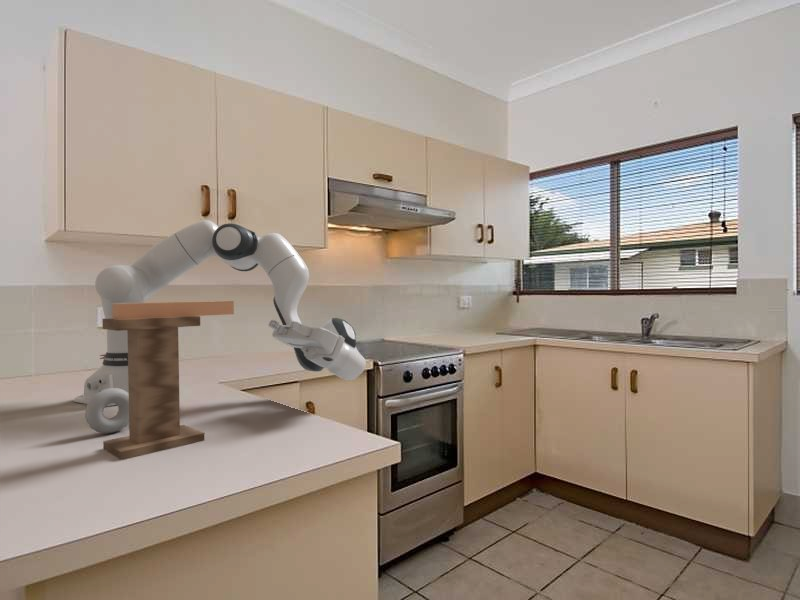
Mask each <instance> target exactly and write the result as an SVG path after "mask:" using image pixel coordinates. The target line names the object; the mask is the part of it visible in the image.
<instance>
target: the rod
mask: <svg viewBox="0 0 800 600" xmlns="http://www.w3.org/2000/svg"><path fill="white" fill-rule="evenodd" d="M234 304H235V303H234V300H215V301H214V300H213V301H210V300H207V301H205V300H204V301H173V302H172V301H166V302H165V301H164V302H163V301H162V302H144V303H113V304H112V319H137V318H160V317H183V316H200V317H201V316H220V315H222V316H225V315H235V313H234V312H235V305H234Z"/></svg>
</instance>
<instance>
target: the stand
mask: <svg viewBox="0 0 800 600" xmlns="http://www.w3.org/2000/svg"><path fill="white" fill-rule="evenodd" d="M101 321H102V330H106V331H107V330H115V331H121V330H127V335H128V387H129V423H128V428H129V429H128V430H129V433H128V434H129V435H126V436H123V437H117V438H112V439H108V440H103V441H102V442H103V443H102V444H103V447H102V449H103V450H104V451H106V452H108V453H110V454H112V456H114V457H116V458H117V459H119V460H120V461H123V460H126V459H130V458H135V457H139V456H143V455H149V454H152V453H153V454H154V453H157V452H160V451H164V450H169V449H174V448H178V447H181V446H187V445H190V444H194V443H199V442H203V441H205V432H202V431H200V430H198V429H196V428H193V427H190V426H188V425H185V424H181V421H180V420H181V417H180V416H181V413H180V412H181V411H180V364H179V363H180V362H179V361H180V360H179V354H180V353H179V349H180V348H179V328H183V327H184V328H187V327H201V316H183V317H160V318H137V319H112V318H108V319H105V318H102V320H101Z"/></svg>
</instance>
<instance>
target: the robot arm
mask: <svg viewBox="0 0 800 600" xmlns="http://www.w3.org/2000/svg"><path fill="white" fill-rule="evenodd" d="M213 257H218V258H220V259H221V260H222V262H224V263H226V264H227V265H228V266H230V267H231V268H232V269H234V270H235V271H236V270H237V271H240V272H251V271H253V270H255V269H256V268H257V267H258V266H261V268H262V269H263V271H264V272H265V273H266V275H267V276H268V278H269V279H270V281H271V284H272V287H273V291H274V296H273V299H272V300H273V306H274V308H275V310H276V313H277V315H278V317H279V319H280V322H281V323H282V324H280V322H278V321H276V320H275V319H270V321H269V323H268V324H267V325H268V327H269V328H271V329H272V330H273V332H272V334H271V335H272V336H271V337H273V339H276V340H278V341H279V342H281V343H283V344H285V345H287V346H289V347H292V348H293V350H294V353H295V357H296V360H297V362H298V363H299V365H300V366H301V368H303V369H304V370H306V371H309V372H321V371H323V369H326V370H327V371H328V372H329V373H331V374H333V375H335V376H337V377H338V378H340V379H342V380H347V381H353V380H355V379H357V378H358V377H360V376H361V375H362V374H363V373H364V371H365V368H366V366H367V362H366V359H365V358H364V356H363V355H362V354H361V352H359V349H358V348H357V346H356V345H357V334H356V331H355V329H354V327H353V326H352V325H351V324H350V323H348V322H347V321H346V320H345V319H342V318H339V317H332V318H331V319H329V320H328V321H327V322H325V323H324V324H323V325H322V326H319V327H318V326H317V327H316V326H308V325H305V324H303V323H302V321H301V319H300V317H299V315H298V306H299V303H300V300H301V299H302V298H301V297H303V295H304V292H305V291H306V289H307V286H308V284H309V280H310V270H309V268H308V266H307V264H306V262H305V260H304V259H303V258H302V257H301V255H300V254H299V253H298V251H297V250H296V249H295V248H294V247H293V245H292V244H291V243H290V242H289V241H288V240H287V239H286V238H285V237H284V235H282V234H280V233H278V232H269V233H265V234H264V235H262V236H257V233H256V232H255V231H252V230H250V229H248V228H246V227H244V226H243V225H239V224H237V223H224V224H221V225H220V226H218V224H217V223H215V222H213V221H212V220H209V219H203V220H200V221H198V222H195V223H192V224H190V225H188V226H185V227H184V228H182V229H180V230H178V231H175V233H172V234H171V235H169V236H168V237H166V238H164V239H163V240H161V241H159V242H158V243H156V244H155V245H153V246H151V247H150V248H149V249H148V251H147V252H145V253H144V254H143V255H142V256H141V257H139V258H138V259H137V260H135V261H134V262H132V263H130V264H128V265H127V264H113V265H110V266H108V267H106V268H104V269H103V270H101V271H99V273H98V274H97V276H96V278H95V282H94V283H95V290H96V292H97V294H98V295H99V297H100V301H101V306H102V311H103V315H104V319H108V318H112V304H113V303H145V301H147V300H148V299H150V298H151V297H153V296H154V295H156V294H157V293H158V292H160V291H161V290H163V289H164V288H165V287H167V286H168V285H169V284H170V283H172V282H173V281H175V280H176V279H177V278H179V277H180V276H182V275H184V274H185V273H187V272H189V271H190V270H192V269H193V268H195V267H196V266H198V265H200V264H201V263H203V262H204V261H206V260H208V259H210V258H213ZM106 347H107V349H106V351H107V352H105V354H100V355H99V357H100V358H99V360H103V361H102V366H100V367H99V368H98V369H97V370H95V371H94V373H92V374H91V375H90V376H89V377H87V378H86V379H85V381H84V385H83V394H82V395H78V396H77V397H74V398H73V399H74V400H73V401H74V402H75V403H80V404H86V405H88V403H89V401H90V400H91V399H92V397H93V396H94V395H95V394H97V393H99V392H100V391H102V390H105V389H109V388H119V389H122V390H125V391H126V392H127V393H129V387H128V335H127V330H121V331H115V330H107V329H106ZM111 406H117V404H115V403H110V404H108V405H107V406H106V407H111Z"/></svg>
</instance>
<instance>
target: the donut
mask: <svg viewBox="0 0 800 600" xmlns="http://www.w3.org/2000/svg"><path fill="white" fill-rule="evenodd" d="M110 403H115V404H117V405H116V406H117V408H118V411H117V413H116V414H115V415H114V416H112V417H106V416H105V414H104V410H105V408H106V407H108V406H107V405H108V404H110ZM85 407H86V408H85V413H84V415H85V421H86V423H87V424H88V426H89V427H90V428H91V429H92V430H94V431H95V432H97V433H101V434H105V435H106V434H115V433H116V432H120V431H122V429H123V430H124V428H126V427H127V426H129V393H127V392H126V391H125V390H122V389H119V388H109V389H105V390H102V391H100V392H99V393H97V394H95V395H94V396H93V397H92V399H91V400H90V401H89V403H88V404H86V406H85Z"/></svg>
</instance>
